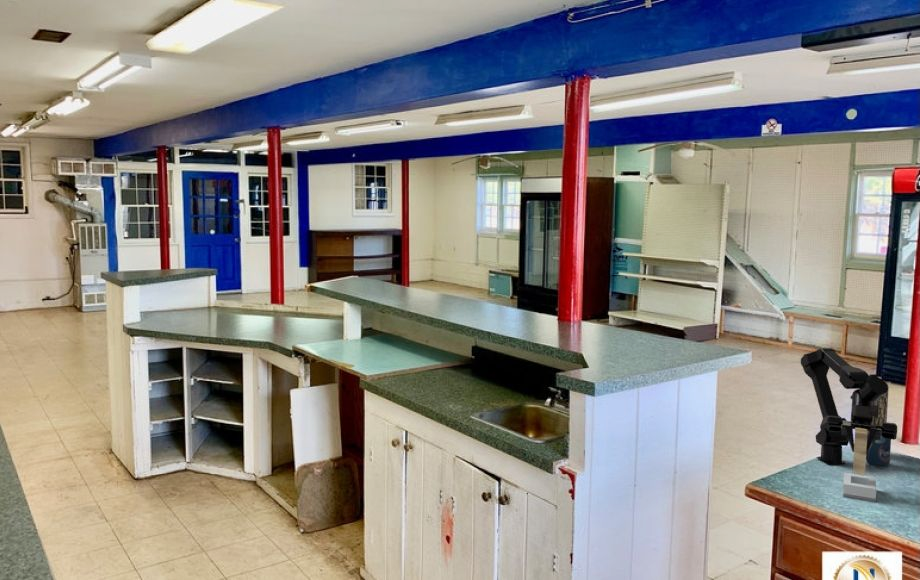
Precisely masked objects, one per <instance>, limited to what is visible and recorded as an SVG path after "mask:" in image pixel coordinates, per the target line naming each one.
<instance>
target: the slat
mask: <svg viewBox="0 0 920 580" xmlns="http://www.w3.org/2000/svg"><path fill="white" fill-rule="evenodd" d="M866 447H867V429H862V428H855V429H854V452H853V462H852V463H853V464H852V474H857V475H863V476H866V465H867V463H866V462H867V461H866Z"/></svg>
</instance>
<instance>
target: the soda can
mask: <svg viewBox="0 0 920 580" xmlns="http://www.w3.org/2000/svg"><path fill="white" fill-rule="evenodd" d="M869 432H870V431H869ZM869 432H868V434H867V442H868V437H869ZM891 445H892V439H885V438H883V437H882V436H881V437H880V440H876V441H875V442H874V443H873V445H872V446H871V448H870V450H869V452H868V454H866V462H867V463H866V464H867V465H869V466H870V465H871V467H873V466H874V468H878V467H879V469H880V467H881V469H885V468H887V467H888V466H889V465H890V463H891ZM884 467H885V468H884Z"/></svg>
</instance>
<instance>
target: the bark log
mask: <svg viewBox="0 0 920 580" xmlns="http://www.w3.org/2000/svg"><path fill="white" fill-rule="evenodd" d="M888 404H889V386H888V391H887V392H886V393H885V394H884V395H883V396H882V397H880V398H879V399H878V400H876V401H873V405H877V406H879V414H878V417H876V416H873V422H872V425H876V426H882V422H887V423H888V406H889V405H888ZM868 432H869V431H867V434H868Z"/></svg>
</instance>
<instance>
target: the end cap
mask: <svg viewBox="0 0 920 580" xmlns="http://www.w3.org/2000/svg"><path fill="white" fill-rule="evenodd" d="M876 479H877V477H875V476H868V475H861V474H855V473H850V472H849V473H848V472H843V490H842V497H843V496H844V498H849V497H850V499H856V500H861V501H868V502H873V503H876V502H877V500H876V499H877V481H876Z"/></svg>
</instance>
